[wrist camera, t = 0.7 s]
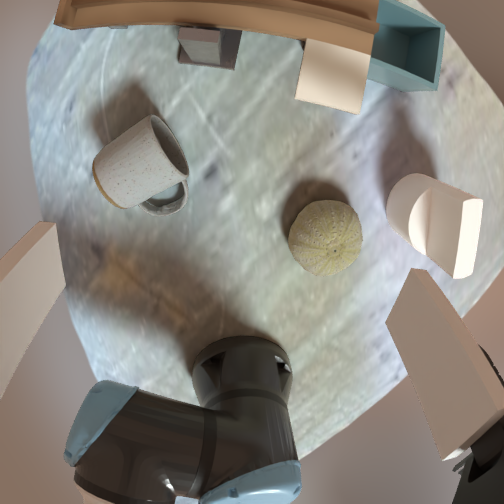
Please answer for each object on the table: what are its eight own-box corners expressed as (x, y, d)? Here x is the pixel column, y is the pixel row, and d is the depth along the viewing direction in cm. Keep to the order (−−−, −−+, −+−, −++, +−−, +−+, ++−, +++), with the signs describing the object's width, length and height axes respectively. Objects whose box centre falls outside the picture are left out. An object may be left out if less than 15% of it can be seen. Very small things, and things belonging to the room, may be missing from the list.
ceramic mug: (103, 152, 33) (75, 164, 27) (160, 112, 32) (143, 113, 25) (150, 225, 38) (135, 251, 31) (208, 190, 37) (204, 210, 30)
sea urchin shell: (371, 198, 36) (379, 262, 33) (346, 226, 44) (350, 282, 41) (297, 188, 35) (299, 256, 32) (281, 219, 43) (281, 278, 40)
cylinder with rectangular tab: (386, 174, 37) (440, 201, 26) (441, 171, 37) (500, 196, 26) (384, 241, 41) (431, 285, 30) (437, 233, 41) (489, 271, 30)
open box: (402, 91, 33) (437, 90, 26) (326, 65, 31) (349, 55, 25) (411, 35, 30) (445, 25, 23) (337, 6, 28) (360, -14, 21)
